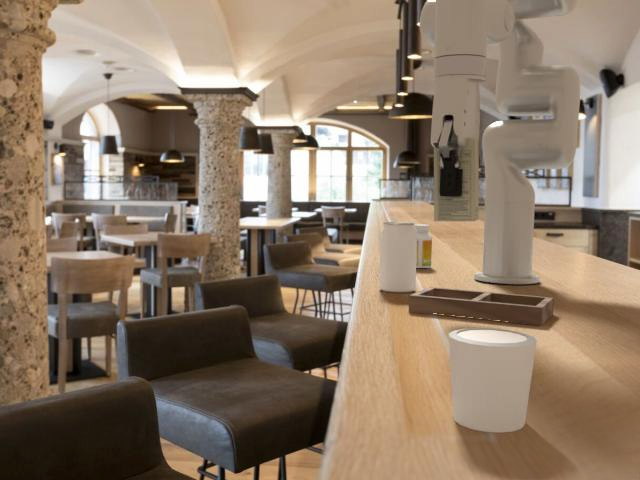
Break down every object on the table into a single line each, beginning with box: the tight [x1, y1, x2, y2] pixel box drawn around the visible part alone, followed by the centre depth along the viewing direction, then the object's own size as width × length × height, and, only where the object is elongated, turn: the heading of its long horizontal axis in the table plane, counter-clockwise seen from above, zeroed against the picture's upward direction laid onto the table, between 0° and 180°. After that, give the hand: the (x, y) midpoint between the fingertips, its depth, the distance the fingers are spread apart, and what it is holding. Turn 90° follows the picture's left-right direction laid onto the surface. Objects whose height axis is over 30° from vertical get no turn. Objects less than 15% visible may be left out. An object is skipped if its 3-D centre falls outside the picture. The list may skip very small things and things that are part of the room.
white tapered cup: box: [448, 327, 537, 434], centre depth 57 cm, size 7×7×7 cm
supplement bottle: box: [415, 223, 433, 269], centre depth 160 cm, size 5×5×10 cm
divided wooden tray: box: [408, 286, 555, 326], centre depth 105 cm, size 10×19×2 cm, turn 63°
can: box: [378, 221, 417, 294], centre depth 125 cm, size 6×6×12 cm
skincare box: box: [433, 138, 480, 222], centre depth 106 cm, size 6×4×12 cm
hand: (456, 194), depth 106 cm, fingers closed on skincare box, 4 cm apart
